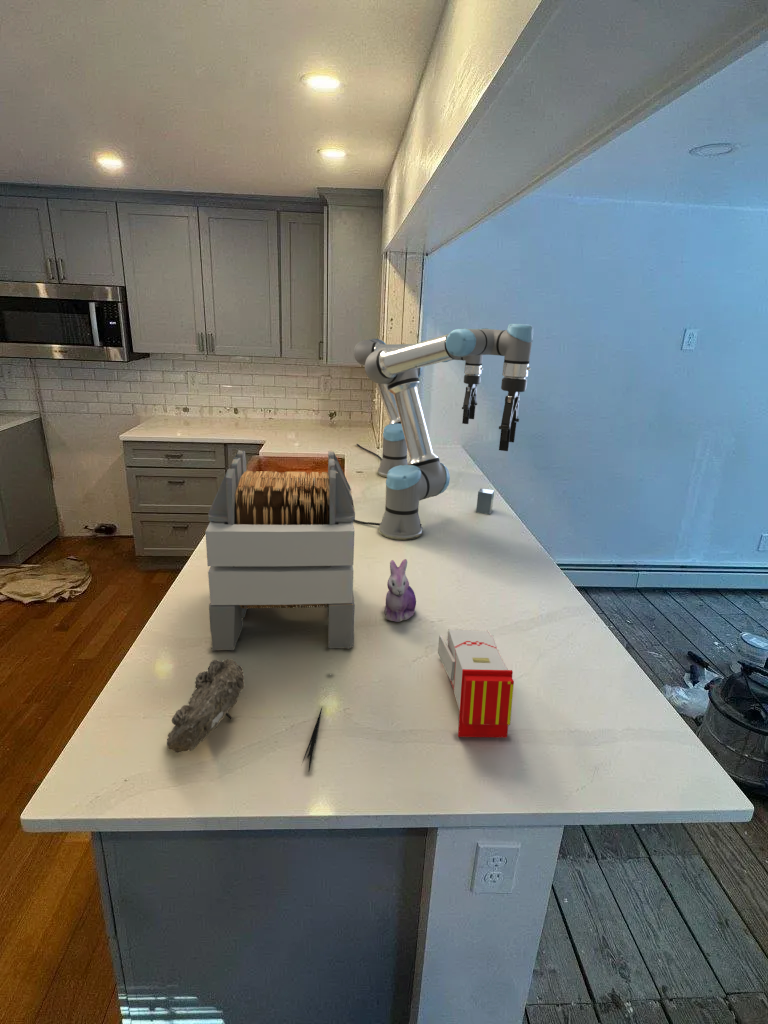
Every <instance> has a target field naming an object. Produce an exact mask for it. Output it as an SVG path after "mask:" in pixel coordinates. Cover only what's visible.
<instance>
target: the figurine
mask: <svg viewBox="0 0 768 1024" xmlns="http://www.w3.org/2000/svg"><path fill="white" fill-rule="evenodd" d="M407 567H408V559H406V558H404V559H403V560H402V561H401V563H400V565H399V566H398V565H397V563H396V562H395V561H394V560H393V559H391V560H390V561H389V570H390V576H389V578H388V579H387V589H388V591H387V592H386V594H385V595H386V596H385V607H384V615H385V616H386V620H387V621H391V622H395V623H400V622H402V621H406V620H409V619H410V618H411V617H413V616H414V615H415V610H416V606H417V597H416V593H415V591H414V590H413V587H411V586H410V582H409V579H408V577H407V574H406V571H407Z"/></svg>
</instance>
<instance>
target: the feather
mask: <svg viewBox="0 0 768 1024" xmlns="http://www.w3.org/2000/svg"><path fill="white" fill-rule="evenodd" d="M329 675H330V676H331V675H332V674H331V673H330V674H329ZM322 710H323V707H321V708H320V710H319V713H318V716H317V719H316V723H315V725H314V728H313V731H312V733H311V737H310V739H309V742H308V745H307V748H306V751H305V754H304V757H303V760H302V763H301V767H302V765H303V763H304V761H305V758H308V759H309V760H308V762H307V763H308V764H307V766H308V771H310V770H311V766H312V765H311V764H312V760H313V757H315V756H314V755H315V751H316V749H315V746H317V739H318V733H319V729H320V722H321V717H322V712H323V711H322ZM313 754H314V755H313ZM306 755H307V757H306Z"/></svg>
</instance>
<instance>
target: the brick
mask: <svg viewBox="0 0 768 1024" xmlns="http://www.w3.org/2000/svg"><path fill="white" fill-rule="evenodd" d="M494 497H495V490H494V489H489V488H488V489H487V488H479V490H478V491H477V499H476V508H475V513H478V514H484V515H491V513H492V512H493V507H494Z"/></svg>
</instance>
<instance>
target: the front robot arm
mask: <svg viewBox="0 0 768 1024" xmlns="http://www.w3.org/2000/svg"><path fill="white" fill-rule="evenodd" d="M533 336H534V327H533V326H532V325H531V324H525V323H524V324H523V323H522V324H521V323H509V324H508V325H507V329H504V330H503V329H493V328H492V329H491V328H463V327H462V328H457V329H453V330H451V331H450V332H449V333H447V334H443V335H440V336H436V337H433V338H429V339H427V340H422V341H419V342H415V343H411V344H412V345H409V346H405V347H402V348H398V349H393V350H392V349H388V348H387V349H383V350H377V351H374V352H372V353H371V354H370V355H369V356H368V357H367V359H366V362H365V365H364V371H365V374H366V376H367V377H368V378H369V380H370V381H371V382H373V383H375V384H376V383H378V384H387V387H388V391H389V392H390V393H392V394H393V395H394V398H395V401H396V405H397V409H398V413H399V417H400V421H401V425H402V429H403V433H404V436H405V440H406V444H407V453H408V455H409V456H408V457H409V460H408V465H404V466H403V465H399V466H395V467H393V468H391V469H390V470H389V471H388V473H387V478H386V479H385V504H384V505H385V507H384V508H385V509H384V513H383V515H382V519H381V522H373V521H371V522H370V521H361V520H358V519H355V520H354V521H353V523H356V524H361V525H367V526H368V525H369V526H378V533H379V534H380V535H381V536H382V537H385V538H387V539H389V540H395V541H410V540H415V539H418V538H420V537H421V536H422V535H423V525H422V523H421V518H420V515H419V507H420V506H419V505H420V501H423V500H426V499H429V498H434V497H437V496H439V495H441V494H442V493H443V494H444V492H445V491H446V490H447V489H448V487H449V485H450V480H451V474H450V471H449V469H448V467H447V466H446V465H445V464H444V463H442V462H441V461H440V457H439V456H438V455H436V454H435V453H434V450H433V447H432V443H431V438H430V435H429V431H428V427H427V424H426V423H427V422H426V419H425V415H424V411H423V408H422V402H421V400H420V395H419V391H418V387H419V386H420V384H421V382H420V377H421V376H422V372H423V368H424V367H427V366H432V365H435V364H439V363H445V362H444V361H448V360H451V359H456V358H461V357H465V356H471V355H483V356H501V357H503V364H502V373H501V374H502V376H503V377H502V378H501V386H500V389H501V391H503V392H507V395H505V396H504V406H503V411H502V417H501V423H500V425H499V426H498V430H500V437H499V444H498V451H501V452H502V451H503V452H509V446H510V443H515V439H516V430H517V423H519V422H520V418H519V405H520V400H521V399H520V394H521V393H523V392H526V391H527V385H528V379H527V378H528V376H529V371H531V370H532V368H531V367H530V360H531V359H530V358H531V353H532V345H533V342H534V340H533ZM451 361H452V360H451ZM448 362H449V361H448Z"/></svg>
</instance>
